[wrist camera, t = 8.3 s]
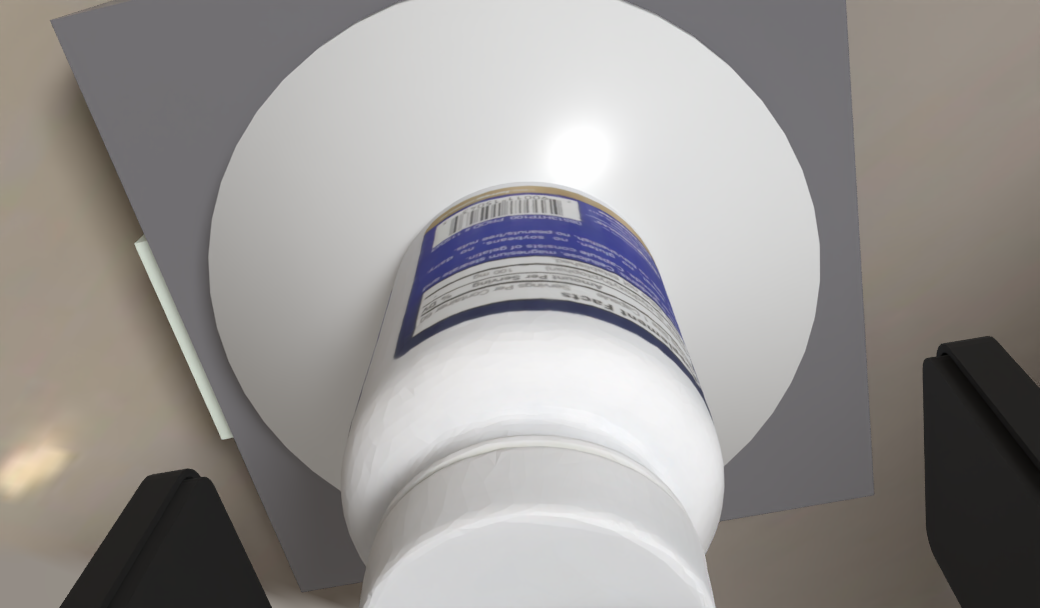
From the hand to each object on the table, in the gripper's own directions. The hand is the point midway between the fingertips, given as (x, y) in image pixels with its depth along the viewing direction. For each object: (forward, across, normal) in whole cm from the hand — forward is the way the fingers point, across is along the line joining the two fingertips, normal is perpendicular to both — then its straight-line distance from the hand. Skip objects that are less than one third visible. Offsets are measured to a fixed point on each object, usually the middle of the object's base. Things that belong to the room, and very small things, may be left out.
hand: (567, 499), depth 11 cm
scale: (+10, +1, 0) cm, 10 cm away
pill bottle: (+7, +1, 0) cm, 7 cm away
